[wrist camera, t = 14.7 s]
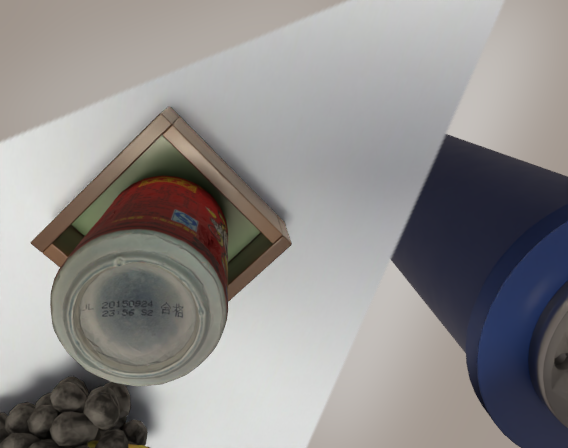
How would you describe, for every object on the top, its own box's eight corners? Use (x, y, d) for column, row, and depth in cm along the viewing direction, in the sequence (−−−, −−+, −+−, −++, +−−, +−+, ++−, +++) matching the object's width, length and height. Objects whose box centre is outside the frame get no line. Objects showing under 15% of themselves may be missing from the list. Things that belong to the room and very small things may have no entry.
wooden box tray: (285, 222, 33) (292, 244, 29) (175, 322, 35) (168, 356, 31) (169, 105, 30) (160, 112, 26) (54, 220, 32) (29, 243, 28)
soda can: (232, 274, 33) (232, 390, 21) (119, 281, 32) (56, 405, 21) (225, 165, 31) (221, 229, 19) (104, 171, 30) (24, 240, 19)
